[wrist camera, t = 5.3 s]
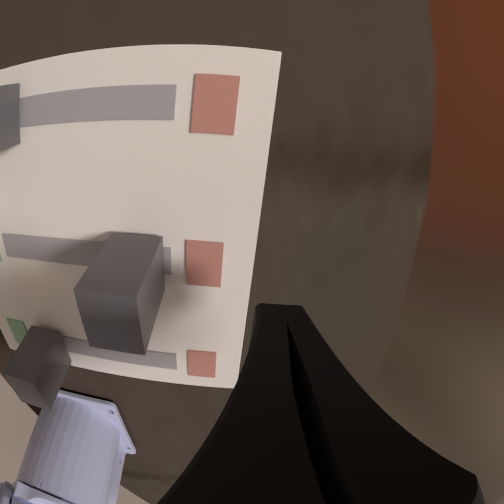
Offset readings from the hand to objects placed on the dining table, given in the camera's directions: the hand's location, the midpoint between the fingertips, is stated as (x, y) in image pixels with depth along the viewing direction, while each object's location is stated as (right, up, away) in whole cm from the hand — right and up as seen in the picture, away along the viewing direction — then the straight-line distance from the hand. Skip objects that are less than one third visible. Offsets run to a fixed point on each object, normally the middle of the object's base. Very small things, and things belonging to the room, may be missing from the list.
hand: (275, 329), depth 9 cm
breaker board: (-8, +3, +4) cm, 10 cm away
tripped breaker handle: (-5, +2, +2) cm, 6 cm away
